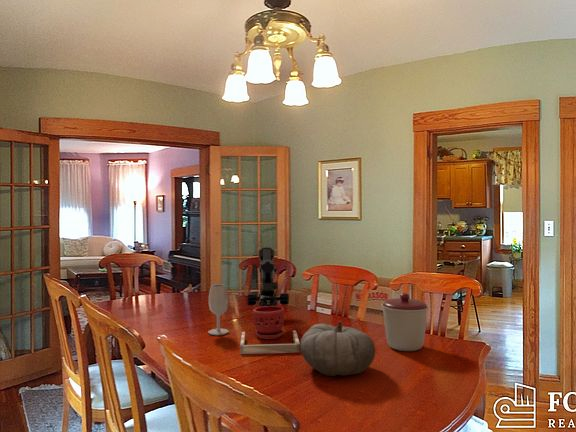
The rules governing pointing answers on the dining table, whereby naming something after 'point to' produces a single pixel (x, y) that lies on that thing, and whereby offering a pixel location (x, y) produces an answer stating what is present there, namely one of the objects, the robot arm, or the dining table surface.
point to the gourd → (337, 349)
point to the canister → (405, 322)
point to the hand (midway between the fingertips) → (268, 315)
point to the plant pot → (269, 321)
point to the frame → (270, 347)
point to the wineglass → (218, 305)
